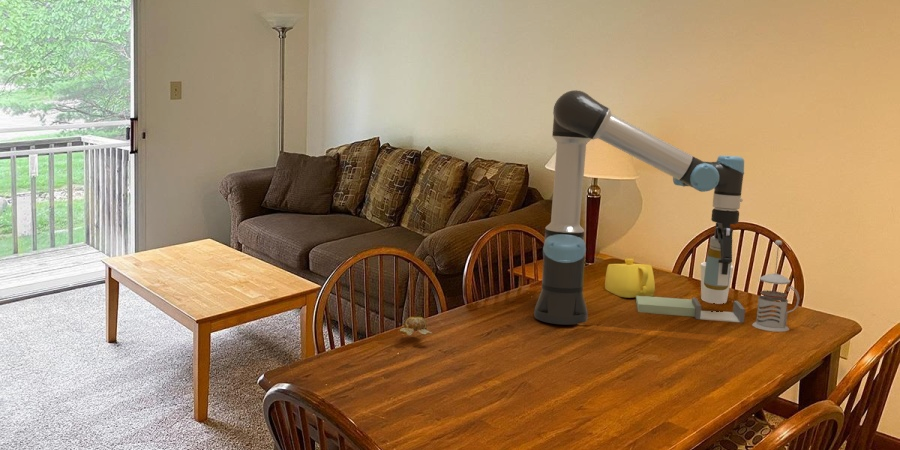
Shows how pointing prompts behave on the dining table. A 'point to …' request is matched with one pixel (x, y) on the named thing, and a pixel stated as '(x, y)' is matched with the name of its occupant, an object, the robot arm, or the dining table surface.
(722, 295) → the cup
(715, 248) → the bottle
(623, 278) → the teapot
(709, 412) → the dining table surface
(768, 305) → the french press
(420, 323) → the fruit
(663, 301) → the green bar on base
